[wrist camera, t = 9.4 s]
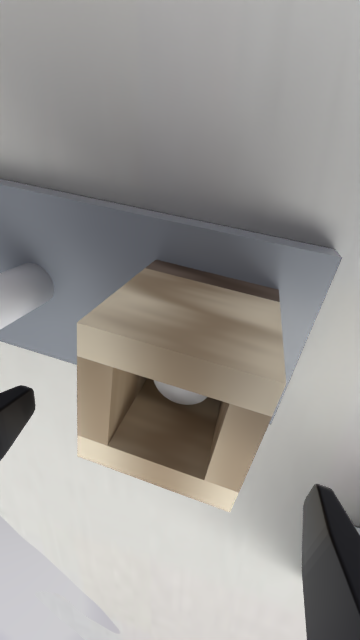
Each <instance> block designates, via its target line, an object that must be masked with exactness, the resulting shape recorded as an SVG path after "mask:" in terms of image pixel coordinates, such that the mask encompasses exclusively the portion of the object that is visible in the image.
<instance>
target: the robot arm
mask: <svg viewBox="0 0 360 640" xmlns="http://www.w3.org/2000/svg"><path fill="white" fill-rule="evenodd" d="M34 410H35V398H34V391H33V389H32V388H29V387H26V386H22V385H20V386H17V387H14V388H12V389H9V390H7V391H4V392H2V393H0V461H1V459H2V458H3V457H4V455H5V454H6V453H7V451H8V450H9V449H10V447H11V446H12V444H13V443H14V441H15V440H16V438H17V437H18V435H19V434H20V432H21V431H22V429H23V428H24V426H25V425H26V423H27V422H28V420H29V419H30V418H31V416H32V415H33V413H34ZM302 580H303V593H304V606H305V619H306V632H307V640H360V534H359V533H358V531H357V529H356V528H355V526H354V525H353V523H352V521H351V520H350V518H349V516H348V515H347V513H346V511H345V510H344V508H343V507H342V505H341V503H340V502H339V500H338V498H337V497H336V495H335V493H334V492H333V491H332V489H330V488H328V487H326V486H323V485H320V484H315V485H314V486H313V488H312V489H311V491H310V493H309V494H308V496H307V498H306V499H305V502H304V506H303V538H302Z"/></svg>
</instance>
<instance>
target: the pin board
mask: <svg viewBox="0 0 360 640" xmlns="http://www.w3.org/2000/svg"><path fill="white" fill-rule="evenodd" d="M341 259H342V257H341V256H340V255H339V253H338V252H337V251H336V250H335V249H331V248H327V247H322V246H317V245H312V244H308V243H303V242H298V241H293V240H289V239H284V238H279V237H274V236H270V235H265V234H260V233H255V232H251V231H246V230H241V229H236V228H232V227H227V226H222V225H217V224H213V223H208V222H203V221H198V220H194V219H189V218H184V217H179V216H175V215H170V214H165V213H161V212H156V211H151V210H146V209H142V208H137V207H132V206H127V205H123V204H118V203H113V202H108V201H104V200H99V199H94V198H89V197H85V196H80V195H75V194H70V193H66V192H61V191H56V190H51V189H47V188H42V187H37V186H32V185H28V184H23V183H18V182H13V181H9V180H4V179H0V341H1V342H5V343H8V344H11V345H14V346H18V347H21V348H24V349H27V350H31V351H34V352H37V353H40V354H44V355H47V356H50V357H53V358H57V359H60V360H63V361H66V362H70V363H73V364H76V365H77V322H78V321H79V320H81V319H82V318H83V317H84V316H86V315H87V314H88V313H89V312H91V311H92V310H93V309H94V308H96V307H97V306H98V305H99V304H101V303H102V302H103V301H104V300H106V299H107V298H108V297H109V296H111V295H112V294H113V293H115V292H116V291H117V290H118V289H120V288H121V287H122V286H123V285H125V284H126V283H127V282H128V281H130V280H131V279H132V278H133V277H135V276H136V275H137V274H138V273H140V272H141V271H142V270H143V269H145V268H146V267H147V266H148V265H150V264H151V263H152V262H153V261H155V260H160V261H164V262H169V263H173V264H177V265H181V266H185V267H189V268H193V269H197V270H201V271H205V272H209V273H213V274H217V275H221V276H225V277H229V278H233V279H237V280H241V281H245V282H249V283H253V284H258V285H262V286H266V287H270V288H274V289H278V290H279V298H280V311H281V324H282V336H283V349H284V362H285V374H286V386H285V388H284V390H283V393H282V395H281V397H280V400H279V402H278V404H277V406H276V409H275V411H274V413H273V416H272V418H271V420H270V422H269V424H271V423H272V420H273V418H274V416H275V413H276V411H277V409H278V406H279V404H280V402H281V399H282V397H283V395H284V392H285V390H286V388H287V385H288V383H289V381H290V378H291V376H292V374H293V371H294V369H295V367H296V364H297V362H298V360H299V357H300V355H301V353H302V350H303V348H304V346H305V343H306V341H307V339H308V336H309V334H310V331H311V329H312V327H313V324H314V322H315V320H316V317H317V315H318V313H319V310H320V308H321V306H322V303H323V301H324V299H325V296H326V294H327V292H328V289H329V287H330V285H331V282H332V280H333V278H334V275H335V273H336V271H337V268H338V266H339V264H340V261H341ZM154 383H155V385H156V387H157V389H158V390H159V391H160V393H161V394H162V395H163V396H165V397H166V398H167V399H169V400H171V401H173V402H175V403H178V404H183V405H193V404H197V403H200V402H202V401H204V400H205V399H206V398H207V396H203V395H200V394H197V393H194V392H191V391H187V390H184V389H181V388H178V387H175V386H171V385H168V384H165V383H162V382H159V381H155V380H154Z"/></svg>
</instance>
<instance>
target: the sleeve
mask: <svg viewBox="0 0 360 640" xmlns="http://www.w3.org/2000/svg"><path fill="white" fill-rule="evenodd" d="M154 380H155V381H159V382H162V383H165V384H168V385H171V386H175V387H178V388H181V389H184V390H187V391H191V392H194V393H197V394H200V395H203V396H207V398H206V399H205V400H204V401H202V402H200V403H197V404H193V405H183V404H178V403H175V402H173V401H171V400H169V399H167V398H166V397H165V396H163V395H162V394H161V393H160V391H159V390H158V389H157V387H156V385H155V383H154ZM285 386H286V374H285V362H284V349H283V336H282V324H281V311H280V298H279V290H278V289H274V288H270V287H266V286H262V285H258V284H253V283H249V282H245V281H241V280H237V279H233V278H229V277H225V276H221V275H217V274H213V273H209V272H205V271H201V270H197V269H193V268H189V267H185V266H181V265H177V264H173V263H169V262H164V261H160V260H155V261H153V262H152V263H151V264H150V265H148V266H147V267H146V268H145V269H143V270H142V271H141V272H140V273H138V274H137V275H136V276H135V277H133V278H132V279H131V280H130V281H128V282H127V283H126V284H125V285H123V286H122V287H121V288H120V289H118V290H117V291H116V292H115V293H113V294H112V295H111V296H109V297H108V298H107V299H106V300H104V301H103V302H102V303H101V304H99V305H98V306H97V307H96V308H94V309H93V310H92V311H91V312H89V313H88V314H87V315H86V316H84V317H83V318H82V319H81V320H79V321H78V322H77V456H78V457H81V458H83V459H86V460H89V461H92V462H94V463H97V464H100V465H102V466H105V467H108V468H111V469H113V470H116V471H119V472H122V473H124V474H127V475H130V476H132V477H135V478H138V479H141V480H143V481H146V482H149V483H151V484H154V485H157V486H160V487H162V488H165V489H168V490H170V491H173V492H176V493H179V494H181V495H184V496H187V497H189V498H192V499H195V500H198V501H200V502H203V503H206V504H208V505H211V506H214V507H217V508H219V509H222V510H225V511H227V512H230V511H231V509H232V507H233V505H234V502H235V500H236V498H237V495H238V493H239V491H240V489H241V486H242V484H243V482H244V479H245V477H246V475H247V473H248V470H249V468H250V466H251V463H252V461H253V459H254V457H255V454H256V452H257V450H258V447H259V445H260V443H261V441H262V438H263V436H264V434H265V432H266V429H267V427H268V425H269V422H270V420H271V418H272V416H273V413H274V411H275V409H276V406H277V404H278V402H279V400H280V397H281V395H282V393H283V390H284V388H285Z"/></svg>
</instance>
